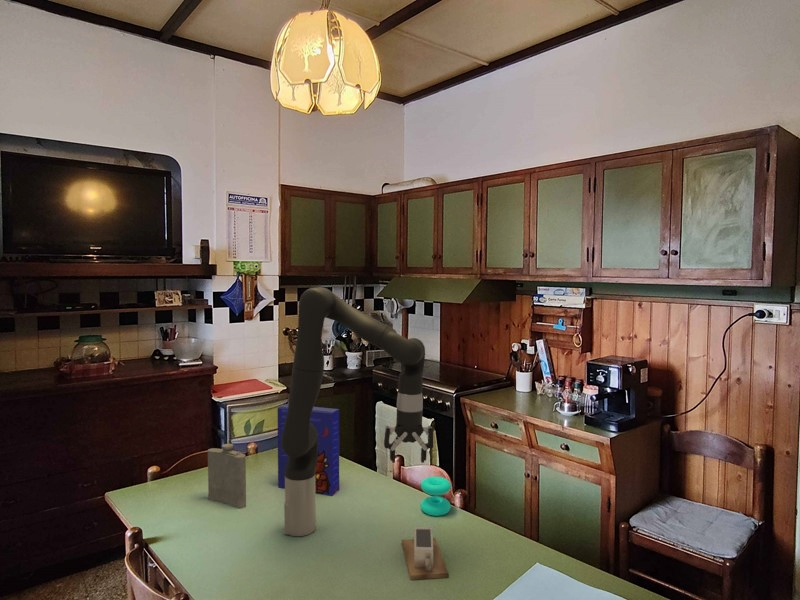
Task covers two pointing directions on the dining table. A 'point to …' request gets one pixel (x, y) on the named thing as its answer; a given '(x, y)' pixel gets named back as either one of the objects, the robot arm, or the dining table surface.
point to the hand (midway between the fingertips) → (408, 461)
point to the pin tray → (421, 571)
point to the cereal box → (327, 449)
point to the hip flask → (227, 476)
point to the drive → (422, 546)
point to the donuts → (435, 503)
